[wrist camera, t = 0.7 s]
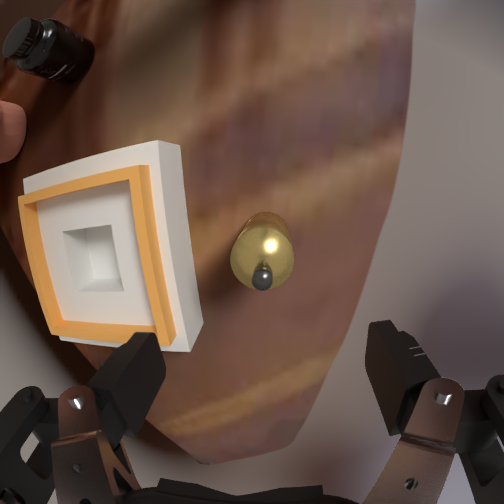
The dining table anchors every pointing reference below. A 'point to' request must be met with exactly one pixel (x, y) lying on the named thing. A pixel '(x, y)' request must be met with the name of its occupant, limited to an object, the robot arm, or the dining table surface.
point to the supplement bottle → (49, 50)
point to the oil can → (263, 252)
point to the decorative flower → (11, 130)
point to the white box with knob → (114, 247)
